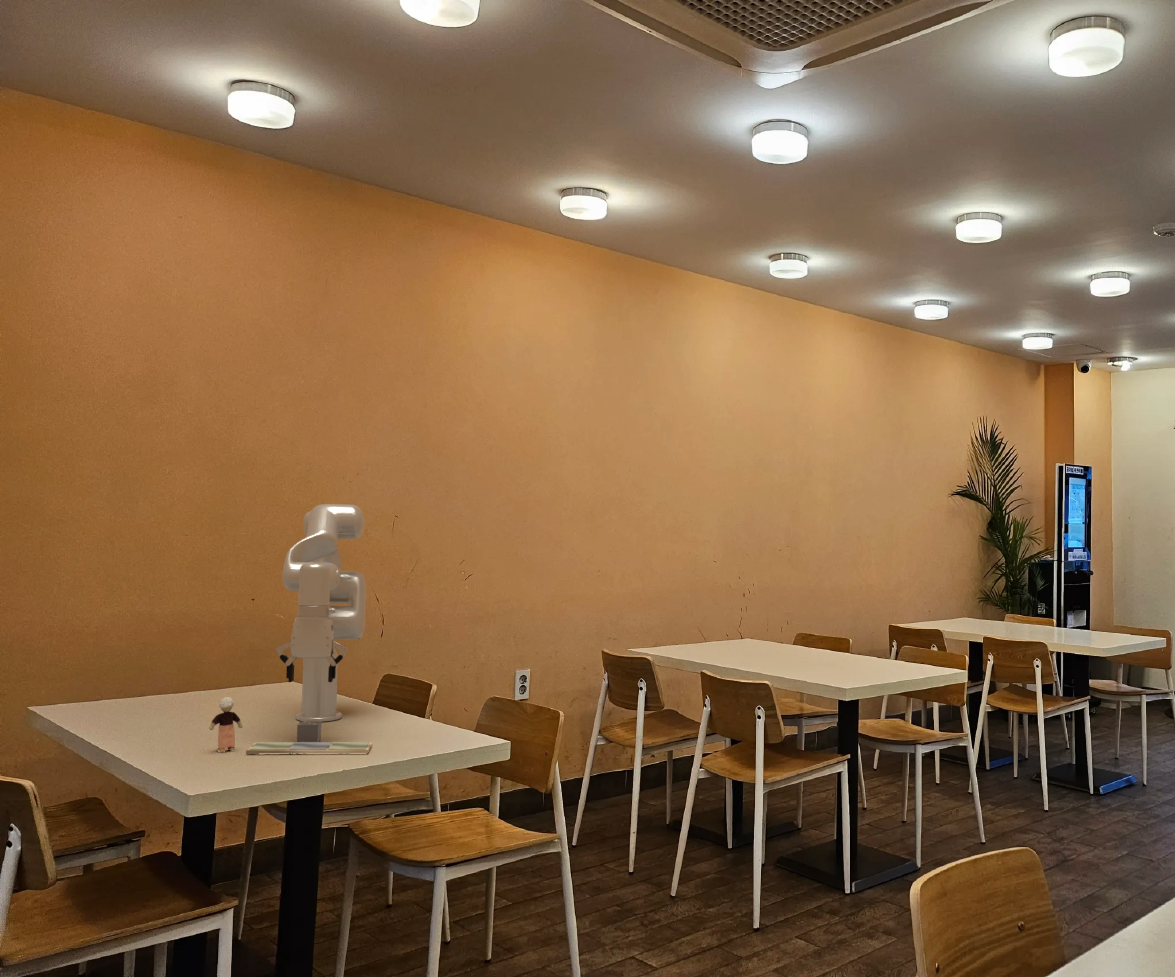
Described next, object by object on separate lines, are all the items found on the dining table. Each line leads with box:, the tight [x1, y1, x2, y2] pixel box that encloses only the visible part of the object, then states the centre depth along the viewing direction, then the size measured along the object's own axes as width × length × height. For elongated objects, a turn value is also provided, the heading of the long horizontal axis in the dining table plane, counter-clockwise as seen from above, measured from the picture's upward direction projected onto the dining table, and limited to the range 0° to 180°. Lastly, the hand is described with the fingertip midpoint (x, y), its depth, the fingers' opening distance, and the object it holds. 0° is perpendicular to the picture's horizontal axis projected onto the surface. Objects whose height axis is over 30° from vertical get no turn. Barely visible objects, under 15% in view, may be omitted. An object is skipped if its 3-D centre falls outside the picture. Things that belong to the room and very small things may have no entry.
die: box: [296, 721, 322, 742], centre depth 238 cm, size 5×5×5 cm
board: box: [245, 741, 373, 755], centre depth 229 cm, size 9×28×1 cm, turn 96°
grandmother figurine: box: [208, 696, 243, 753], centre depth 227 cm, size 8×4×13 cm, turn 141°
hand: (310, 681), depth 239 cm, fingers open, 9 cm apart
